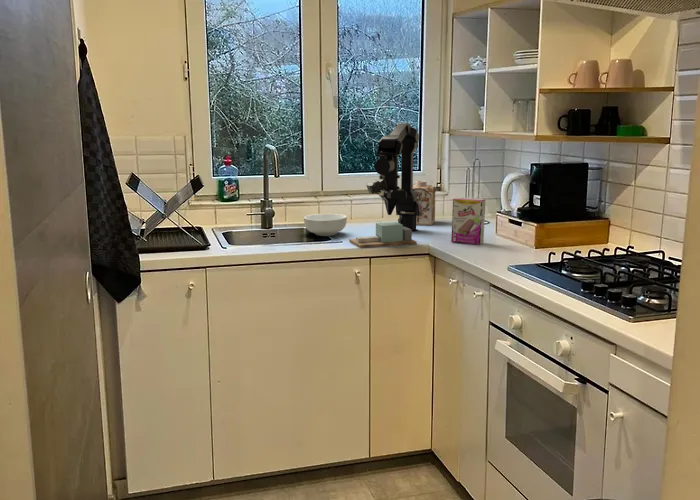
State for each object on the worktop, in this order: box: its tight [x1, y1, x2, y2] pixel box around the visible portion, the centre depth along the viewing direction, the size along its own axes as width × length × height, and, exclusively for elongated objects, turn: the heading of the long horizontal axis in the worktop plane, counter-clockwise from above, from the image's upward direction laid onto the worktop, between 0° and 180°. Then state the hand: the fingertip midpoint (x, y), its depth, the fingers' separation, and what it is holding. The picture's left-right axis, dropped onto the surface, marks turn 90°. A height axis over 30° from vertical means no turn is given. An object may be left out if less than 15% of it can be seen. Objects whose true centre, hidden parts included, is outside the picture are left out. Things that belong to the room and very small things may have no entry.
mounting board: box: [348, 238, 418, 249], centre depth 263 cm, size 22×12×1 cm, turn 108°
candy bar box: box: [451, 196, 486, 246], centre depth 263 cm, size 11×5×16 cm, turn 65°
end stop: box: [402, 227, 413, 241], centre depth 266 cm, size 2×7×4 cm, turn 18°
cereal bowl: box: [303, 213, 347, 237], centre depth 281 cm, size 17×17×7 cm
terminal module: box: [375, 221, 403, 242], centre depth 264 cm, size 8×6×6 cm
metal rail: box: [355, 235, 403, 243], centre depth 263 cm, size 20×3×2 cm, turn 108°
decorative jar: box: [409, 180, 437, 226], centre depth 306 cm, size 12×12×18 cm
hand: (389, 214), depth 262 cm, fingers closed
